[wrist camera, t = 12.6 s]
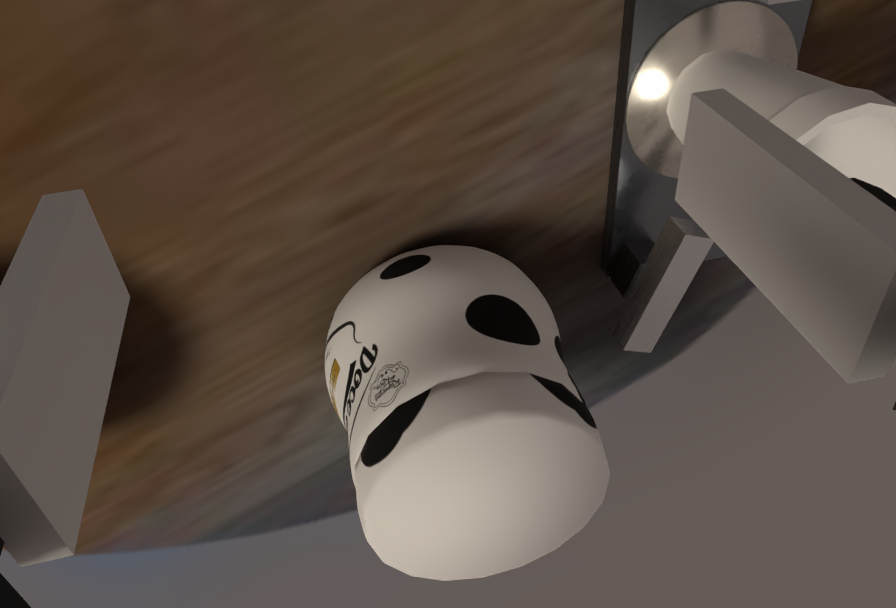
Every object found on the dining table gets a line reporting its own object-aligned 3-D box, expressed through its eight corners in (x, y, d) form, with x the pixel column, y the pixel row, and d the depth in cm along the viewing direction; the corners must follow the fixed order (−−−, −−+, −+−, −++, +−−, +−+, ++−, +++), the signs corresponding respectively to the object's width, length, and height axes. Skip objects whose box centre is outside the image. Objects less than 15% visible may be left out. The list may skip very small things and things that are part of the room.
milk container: (271, 312, 52) (279, 515, 38) (468, 181, 49) (555, 351, 35) (401, 427, 63) (444, 620, 49) (570, 326, 60) (667, 501, 46)
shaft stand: (624, -223, 36) (693, -218, 31) (853, -245, 38) (960, -244, 32) (585, 298, 58) (622, 358, 52) (733, 270, 60) (784, 325, 54)
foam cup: (748, -10, 43) (899, 63, 33) (797, 97, 48) (940, 187, 38) (619, 95, 45) (724, 193, 35) (680, 185, 51) (785, 292, 41)
